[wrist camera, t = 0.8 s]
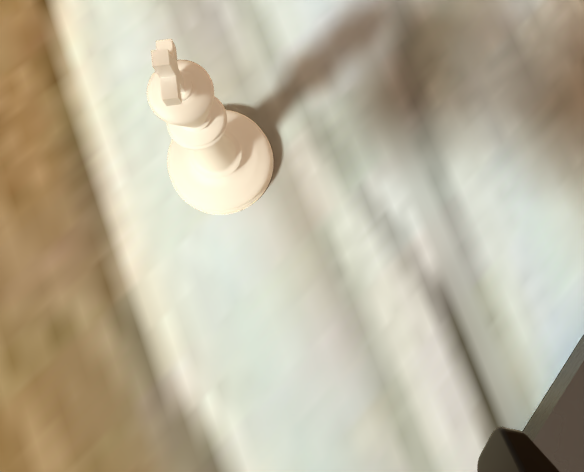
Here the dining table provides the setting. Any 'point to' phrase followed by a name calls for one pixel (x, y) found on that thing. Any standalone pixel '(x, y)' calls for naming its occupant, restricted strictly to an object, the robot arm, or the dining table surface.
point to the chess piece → (207, 138)
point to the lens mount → (562, 417)
